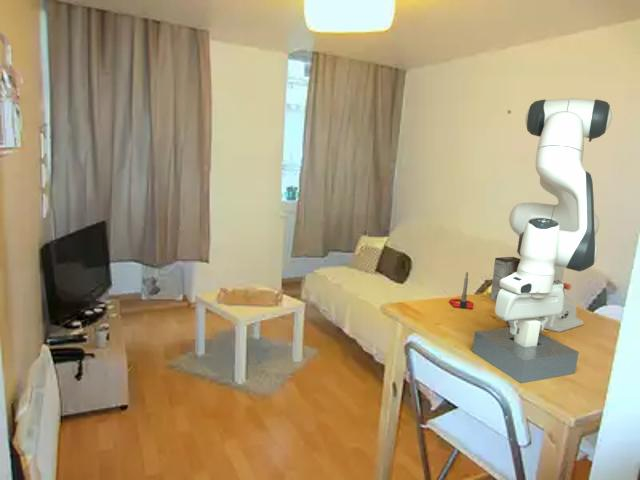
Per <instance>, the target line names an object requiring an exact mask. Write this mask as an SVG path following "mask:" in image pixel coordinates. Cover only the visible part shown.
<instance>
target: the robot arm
mask: <svg viewBox="0 0 640 480" xmlns="http://www.w3.org/2000/svg"><path fill="white" fill-rule="evenodd" d="M610 106H611V105H610V104H609V102H608V101H605V100H602V99H597V98H596V99H595V100H594V99H587V98H586V99H585V98H574V97H573V98H562V99H561V98H560V99H550V100H548V99H540V100H536V101H535V100H534V101H533V102H532V104H530V106H529V108H528V110H527V112H526V114H525V126H526V130H527V132H528V133H529V134H531V135H533V136H535V137H539V140H538V145H537V150H536V155H535V170H536V173H537V174H538V176H539V184H540V186H541V188H542V189H543V190H545V191H546V192H548V193H549V194H551V195H553V196H554V197H555V198H557V202H558V203H557V204H551V203H541V202H524V203H523V202H522V203H517V204H516V205H515V206H513V208H512V209H511V210H510V214H509V216H508V217H509V218H508V221H509V225H510V228H511V230H512V231H513V232H514V233H515V234H516V235H517V236H518V237H519V238H518V243H517V244H518V245H517V250H516V252H517V254H518V256H519V257H520V258H519V259H520V263H519V265H518V268H517V272H514V273H513V274H511V275H509V276H507V277H505V278H503V279H501V280H500V287H502V289H500V291H499V292H498V295H497V300H496V301H495V307H494V313H495V315H496V316H497V318H500V319H501V320H503V321H504V320H508V322H509V325H510V326H511V327H510V333H511V334H513V335H515V334H519V330H520V328H518V327H517V325H516V323H518V319H523V318H533V319H535V320H537V321H540V322H541V324H540V330H539V332H543V331H544V329H545V330H550V331H555V332H564V331H567V330H570V329H574V328H576V327H577V328H578V327H580V326H582V325H584V321H583V319H581V318H580V317H578V316H577V313H578V310H577V306H576V304H575V303H574V302H573V301H572V300H571V299H570V298H569V297H568V296H567V295H566V293H565V290H567V291H570V290H571V288H572V285H571V283H568V282H564V283H563V278H564V271H565V269H566V270H567V269H568V270H573V271H576V272H582V271H585V270H587V269H590V268H591V267H593V266H594V265H595V263H596V261H597V258H598V257H597V256H598V244H597V240H596V236H597V234H598V231H599V228H600V219H599V218H598V216H597V214H596V213H595V200H594V199H595V198H594V197H595V196H594V185H593V177H592V175H591V173H590V172H589V171H587V170H585V168H584V166H583V158H584V149H585V148H584V147H585V145H584V144H585V143H584V142H585V138H586V139H587V138H588V142H592V140H594V139H597V138H600V137H602V136H603V135H605V133H606V131H607V130H608V129H609V127H610V125H611V123H612V120H613V114H612V113H613V112H612V109H611V107H610Z"/></svg>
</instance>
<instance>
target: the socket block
mask: <svg viewBox="0 0 640 480" xmlns="http://www.w3.org/2000/svg"><path fill="white" fill-rule="evenodd" d="M514 337H515V335H513V334H511V333H510V327H509V326H508V327H503V328H502V327H500V328H492V329H485V330H478V331H476V330H475V331H474V336H473V342H472V343H473V344H472V350H471V351H472V353H473V354H475V355H477V357H479V358H482V359H483V360H484V361H486V362H487V363H489V364H491V366H494V367H495V368H496V369H498V370H500V371H501V372H503V373H504V374H506V375H508V376H509V377H511V378H512V379H514V380H515V381H517V382H519V383H520V384H524V383H529V382H536V381H540V380H541V381H542V380H547V379H552V378H559V377H563V375H564V376H568V375H569V374H570V375H574V374H573V373H575V374H576V370H577V369H576V368H577V363H578V358H579V353H580V352H579V351H577V350H576V349H574V348H572V347H570V346H567V345H565V344H564V343H561V342H560V341H557V340H555V339H553V338H551V337H549V336H547V335H546V334H543V333H542V332H539V336H538V341H537V346H530V347H523V346H522V345H520V344H518V343H516V342H514Z"/></svg>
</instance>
